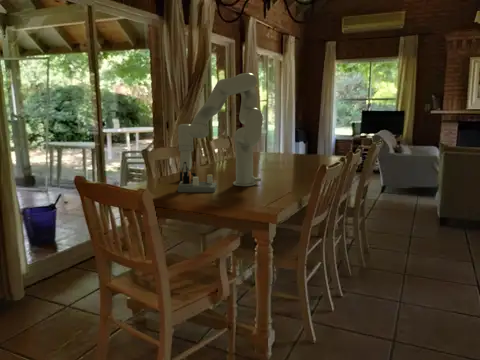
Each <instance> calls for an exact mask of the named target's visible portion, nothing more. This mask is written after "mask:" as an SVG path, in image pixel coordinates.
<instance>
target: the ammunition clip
mask: <svg viewBox="0 0 480 360" xmlns="http://www.w3.org/2000/svg"><path fill="white" fill-rule="evenodd" d="M182 172H183V170H180V169H179V182H181V181H183V174H182ZM190 172H191V181H193V177H198V172H197V164H196V161H192V167H191V169H190Z"/></svg>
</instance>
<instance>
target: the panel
mask: <svg viewBox="0 0 480 360" xmlns="http://www.w3.org/2000/svg"><path fill="white" fill-rule="evenodd" d="M198 183H199V186H193V181H191V184H183V181H179V183H178V186H177V193H215V192H216V190H217V187H218V185H217V182H212V184H211V183H207V181H198Z"/></svg>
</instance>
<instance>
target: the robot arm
mask: <svg viewBox="0 0 480 360" xmlns="http://www.w3.org/2000/svg"><path fill="white" fill-rule="evenodd" d="M257 82H258V81H257V76H256V75H255V74H254V73H251V72H246V73H245V72H243V73H239V74H237V75H236V76H232V77H228V78H222V79H219V80H218V81H217V82H216V84H215V86H214V87H213V89H212V90H211V93H210V94H209V96H208V98H207V100H206V102H205V103H204V104H203V106H202V107H201V108H200V109H199V110H198V112H197V113H196V115H195V117H194V118H193V120H192V122H191V123H180V124H179V125H178V126H177V133H178V136H177V137H178V152H179V171H180V170H183V184H189V172H190V169H191V167H192V162H193V158H192V152H194V138H195V139H196V138H197V139H204V138H207V136H208V135H209V134H210V129H209V127H208V126H207V124H208V123H209V121H210V120H211V119H212V118H213V117H214V116H215V115H217V114H219V112H221V110H222V108H223V107H224V104H225V103H226V100H227V99H228V98H229V96H233V95H237V94H240V96H241V100H240V110H239V116H238V119H239V122H240V123H241V124H243V125H244V127H240V128H238V129H237V130H236V131H235V132H234V137H233V138H234V145H235V181H233V182H232V184H233V186H237V187H253V186H255V185H256V184H257V182H262V177H255V176H254V148H253V147H255V146H256V145H258V144H259V142H260V140H261V135H262V129H263V121H264V120H263V119H264V118H263V112H262V111H261V110H260V109H259V108H257V105H258V93H257V91H256V88H255V87H256V86H257V84H258V83H257Z"/></svg>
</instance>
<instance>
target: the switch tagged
mask: <svg viewBox="0 0 480 360" xmlns="http://www.w3.org/2000/svg"><path fill="white" fill-rule="evenodd" d="M206 182H207V183H211V184H212V183H213V174H207V175H206Z"/></svg>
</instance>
